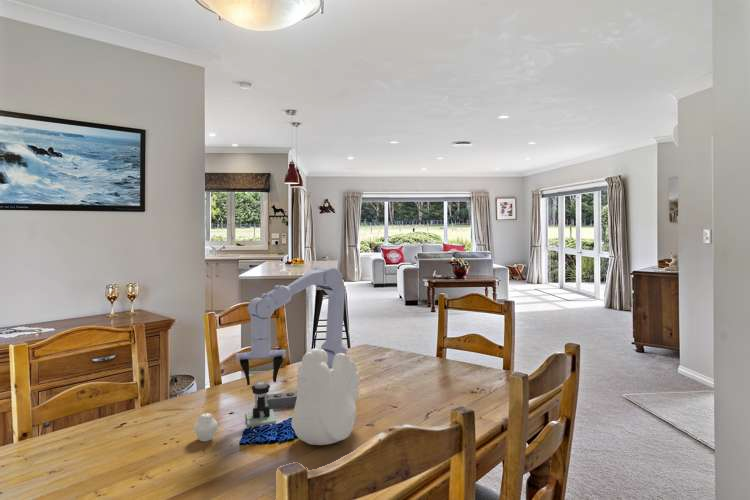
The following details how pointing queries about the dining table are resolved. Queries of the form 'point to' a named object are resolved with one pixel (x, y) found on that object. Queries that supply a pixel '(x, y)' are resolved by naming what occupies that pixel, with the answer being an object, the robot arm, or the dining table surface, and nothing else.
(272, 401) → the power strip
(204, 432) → the grey rounded lump
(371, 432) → the dining table surface
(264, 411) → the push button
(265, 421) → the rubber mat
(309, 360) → the white rounded upright lump
